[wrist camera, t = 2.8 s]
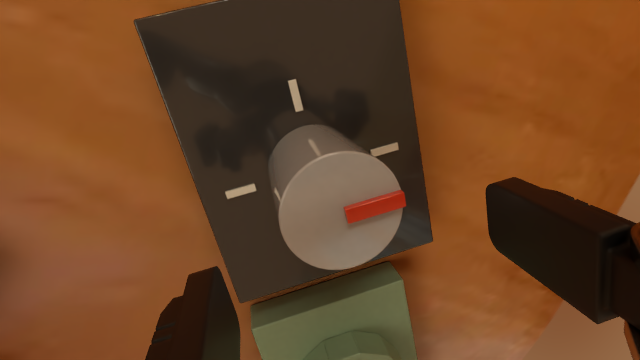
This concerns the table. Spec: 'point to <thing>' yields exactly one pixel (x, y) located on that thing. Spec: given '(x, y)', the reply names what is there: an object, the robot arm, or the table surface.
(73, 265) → the table surface
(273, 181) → the stove knob
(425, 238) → the hob panel
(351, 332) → the block
